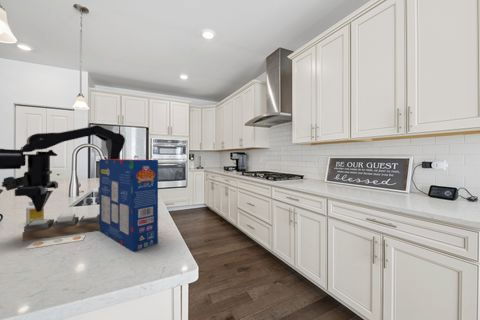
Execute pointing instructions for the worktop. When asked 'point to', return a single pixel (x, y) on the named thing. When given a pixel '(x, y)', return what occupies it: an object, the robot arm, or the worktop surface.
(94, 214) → the key
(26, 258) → the worktop surface
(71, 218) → the key middle
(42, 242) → the pattern card
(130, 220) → the blue cardboard box
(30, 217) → the supplement bottle
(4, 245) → the worktop surface
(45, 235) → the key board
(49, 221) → the key
